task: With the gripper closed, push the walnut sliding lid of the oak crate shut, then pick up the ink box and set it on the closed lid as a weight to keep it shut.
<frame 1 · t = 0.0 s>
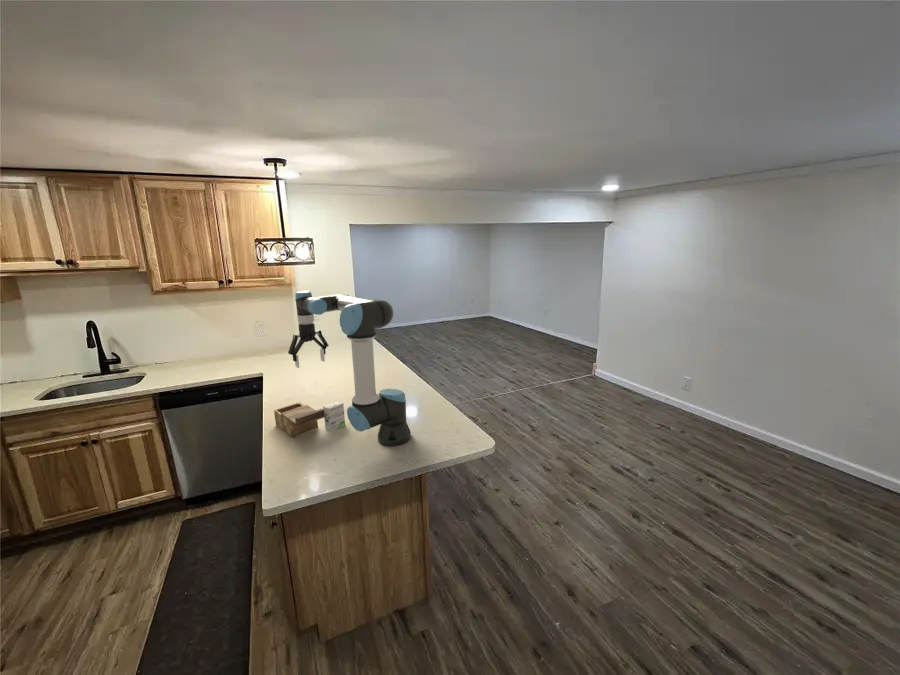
hand: (310, 364, 202), 28 cm above the worktop, fingers open, 13 cm apart
crate: (296, 426, 197), on the worktop
ink box: (335, 427, 196), on the worktop
lid: (302, 412, 189), point 10 cm above the worktop, slide at 8.0 cm
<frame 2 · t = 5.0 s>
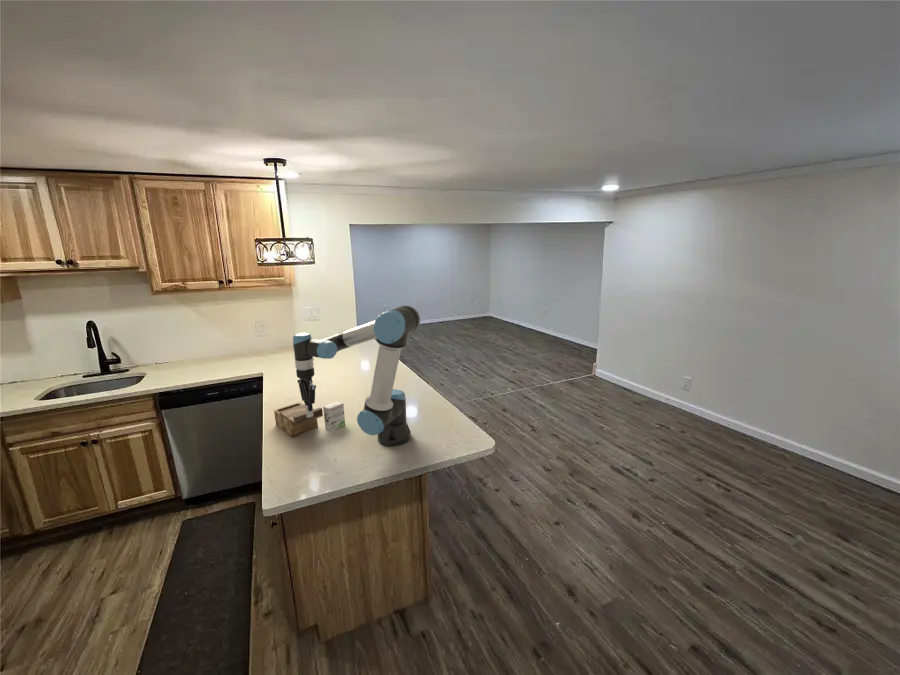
hand: (309, 416, 183), 11 cm above the worktop, fingers closed
lid: (300, 411, 190), point 10 cm above the worktop, slide at 6.2 cm, touching gripper
everything else where it was.
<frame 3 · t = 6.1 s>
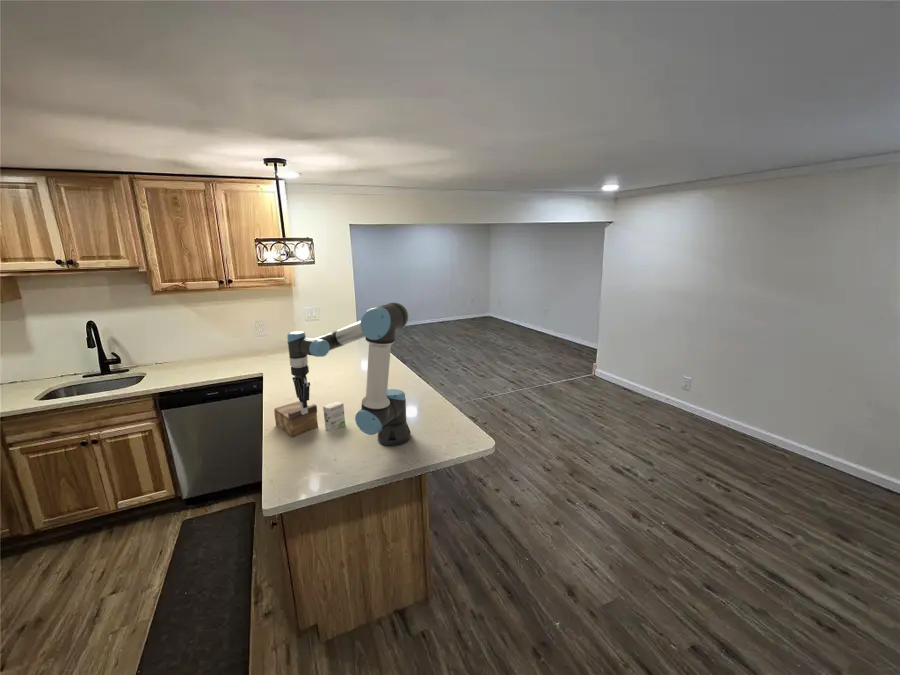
hand: (304, 413, 187), 10 cm above the worktop, fingers closed
lid: (295, 407, 194), point 10 cm above the worktop, slide at 0.8 cm, touching gripper
everything else where it was.
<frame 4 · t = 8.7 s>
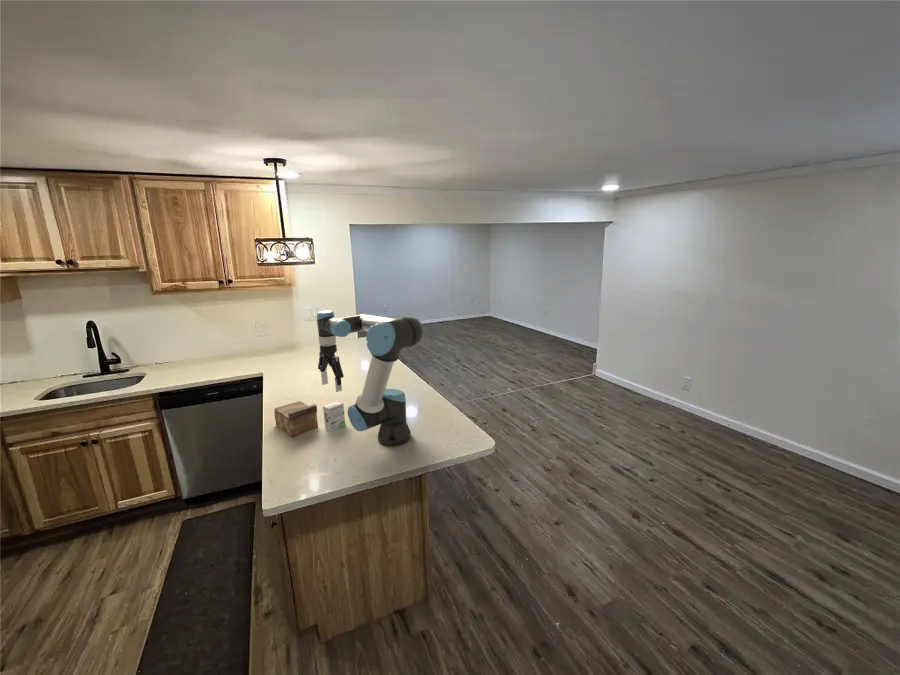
hand: (331, 387, 191), 20 cm above the worktop, fingers open, 12 cm apart
lid: (295, 407, 194), point 10 cm above the worktop, slide at 0.8 cm
everything else where it was.
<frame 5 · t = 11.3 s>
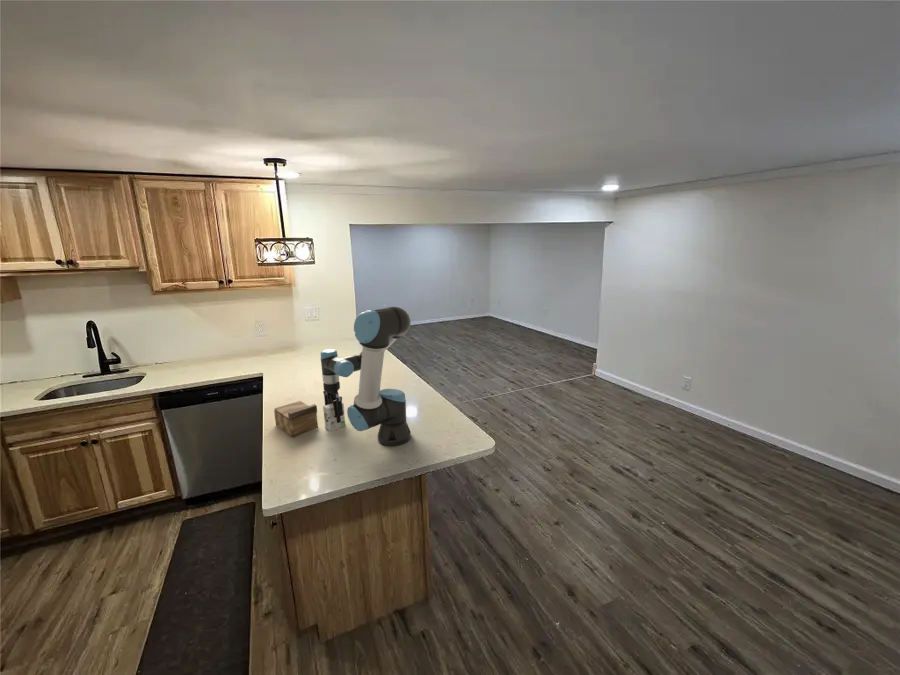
hand: (335, 426, 196), 0 cm above the worktop, fingers closed on ink box, 5 cm apart
ink box: (335, 426, 196), on the worktop, touching gripper
everything else where it was.
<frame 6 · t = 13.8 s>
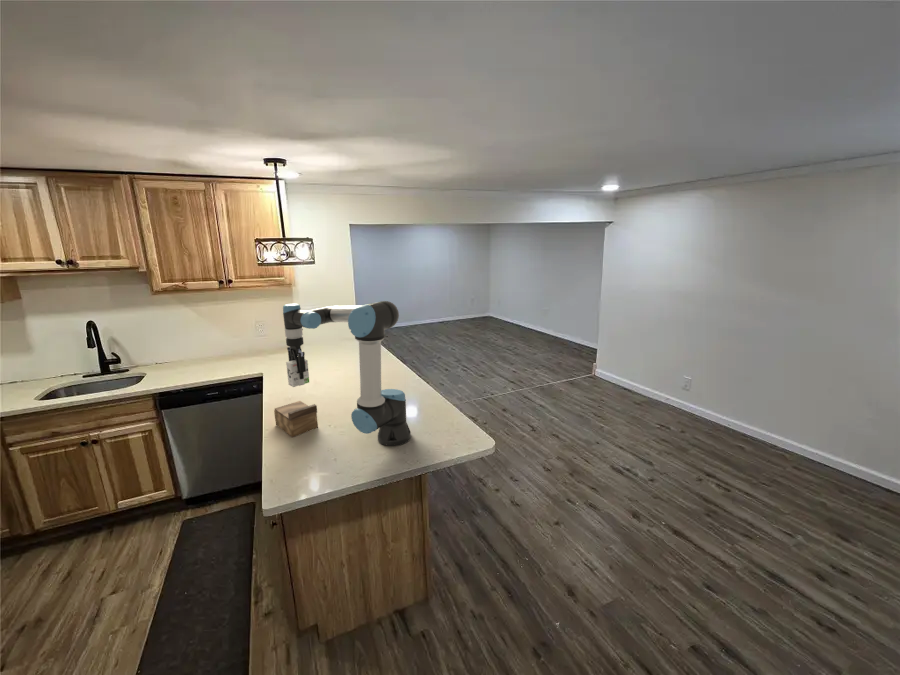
hand: (298, 383, 193), 22 cm above the worktop, fingers closed on ink box, 5 cm apart
ink box: (299, 384, 193), point 21 cm above the worktop, touching gripper
everything else where it was.
when the fingers open (10 cm above the worktop, at t = 16.4 s): ink box stays where it is, resting on lid.
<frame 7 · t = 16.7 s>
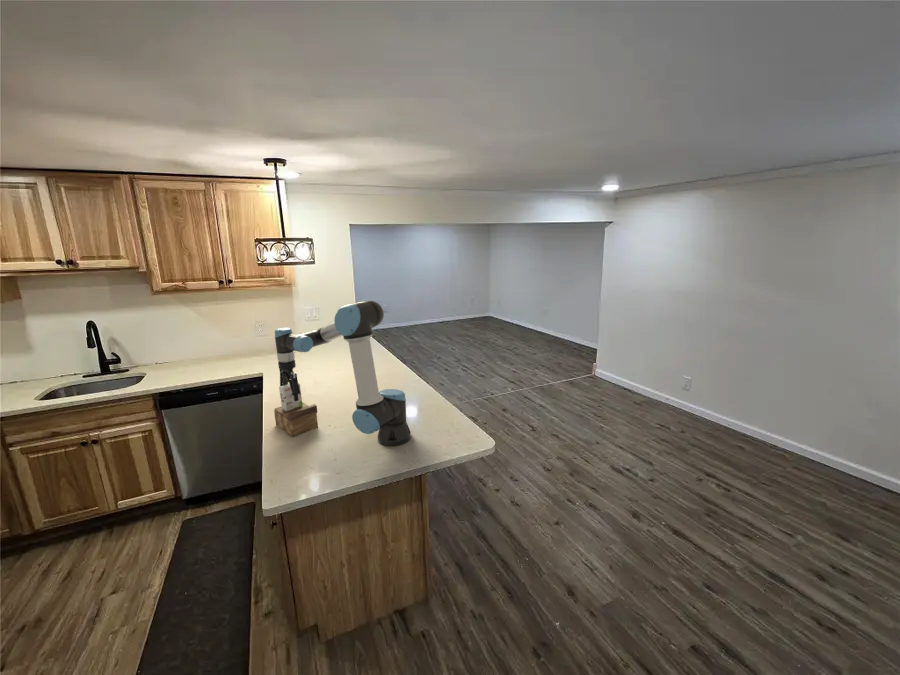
hand: (291, 403, 196), 11 cm above the worktop, fingers open, 9 cm apart
ink box: (292, 407, 196), point 9 cm above the worktop, touching lid
lid: (295, 407, 193), point 10 cm above the worktop, slide at 0.9 cm, touching ink box
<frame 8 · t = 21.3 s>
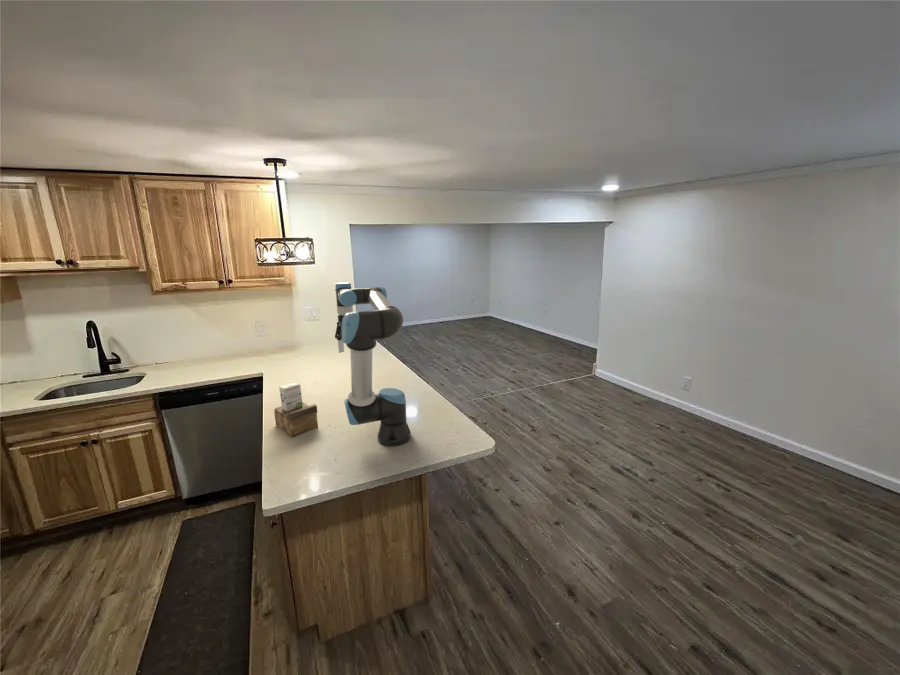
hand: (348, 354, 204), 32 cm above the worktop, fingers open, 13 cm apart
nothing on the worktop moved.
at the end: lid slide at 0.9 cm; ink box inside the target area on the crate (1.3 cm from its centre), point 8.9 cm above the crate's base; ink box tilted 0° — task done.
